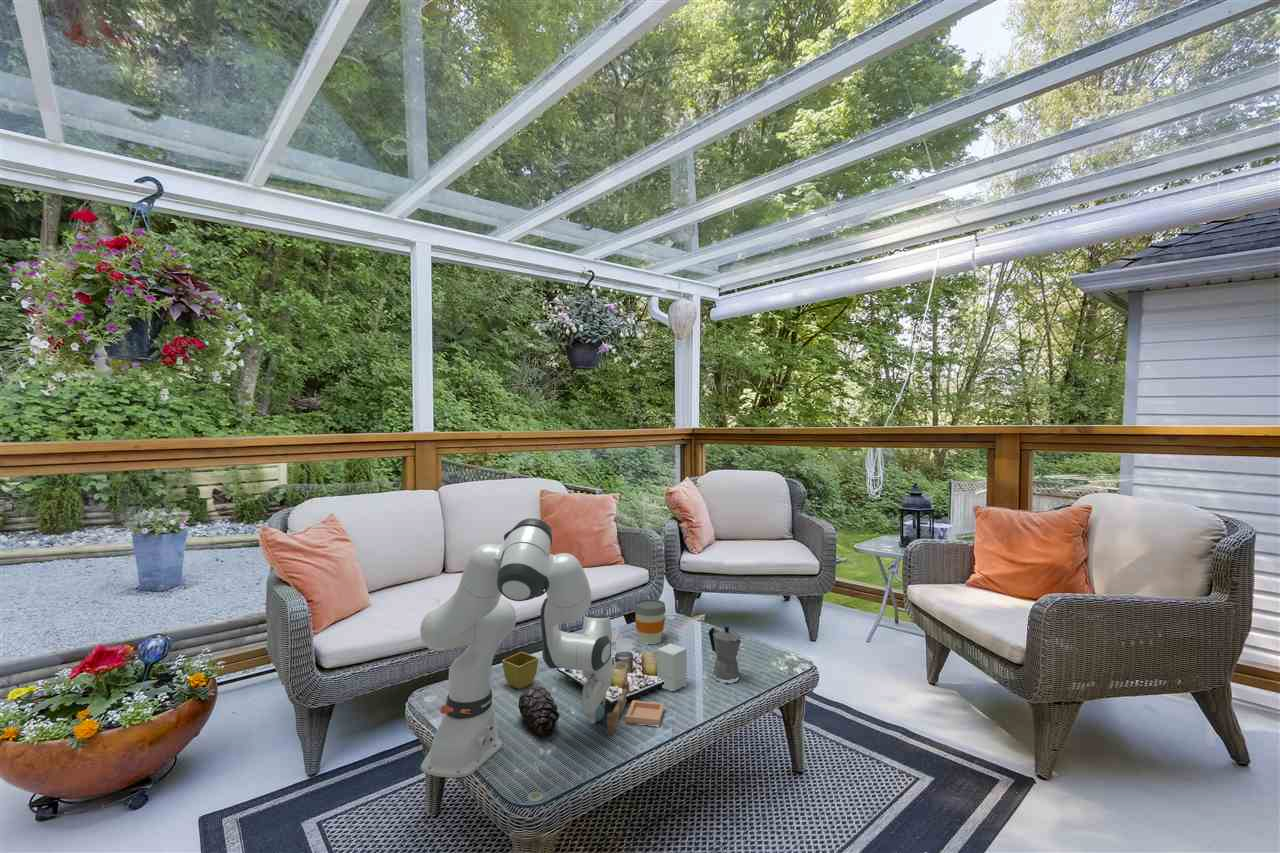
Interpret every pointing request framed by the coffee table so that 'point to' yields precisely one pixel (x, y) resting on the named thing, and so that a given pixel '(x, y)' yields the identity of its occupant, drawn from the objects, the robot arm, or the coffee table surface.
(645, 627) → the reusable coffee cup
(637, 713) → the wooden tray
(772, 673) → the coffee table surface
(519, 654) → the flower pot
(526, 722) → the pine cone
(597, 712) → the ball
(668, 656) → the supplement box
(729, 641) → the coffeepot
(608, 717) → the fence
